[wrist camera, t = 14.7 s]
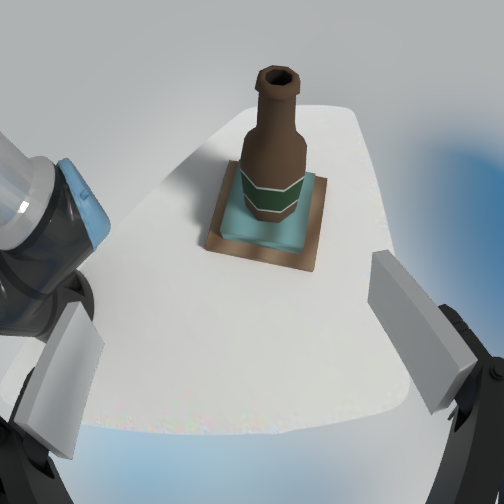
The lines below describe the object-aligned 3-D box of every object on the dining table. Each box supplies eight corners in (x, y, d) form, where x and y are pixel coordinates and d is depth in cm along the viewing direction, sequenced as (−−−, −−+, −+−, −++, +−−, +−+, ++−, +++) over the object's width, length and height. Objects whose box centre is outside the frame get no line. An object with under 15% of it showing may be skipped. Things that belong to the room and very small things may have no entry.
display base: (206, 250, 47) (199, 240, 42) (230, 164, 51) (227, 147, 46) (312, 272, 46) (318, 264, 40) (325, 182, 50) (332, 166, 44)
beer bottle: (252, 231, 42) (241, 119, 19) (238, 184, 44) (219, 57, 21) (304, 218, 42) (344, 103, 19) (288, 172, 44) (306, 45, 21)
